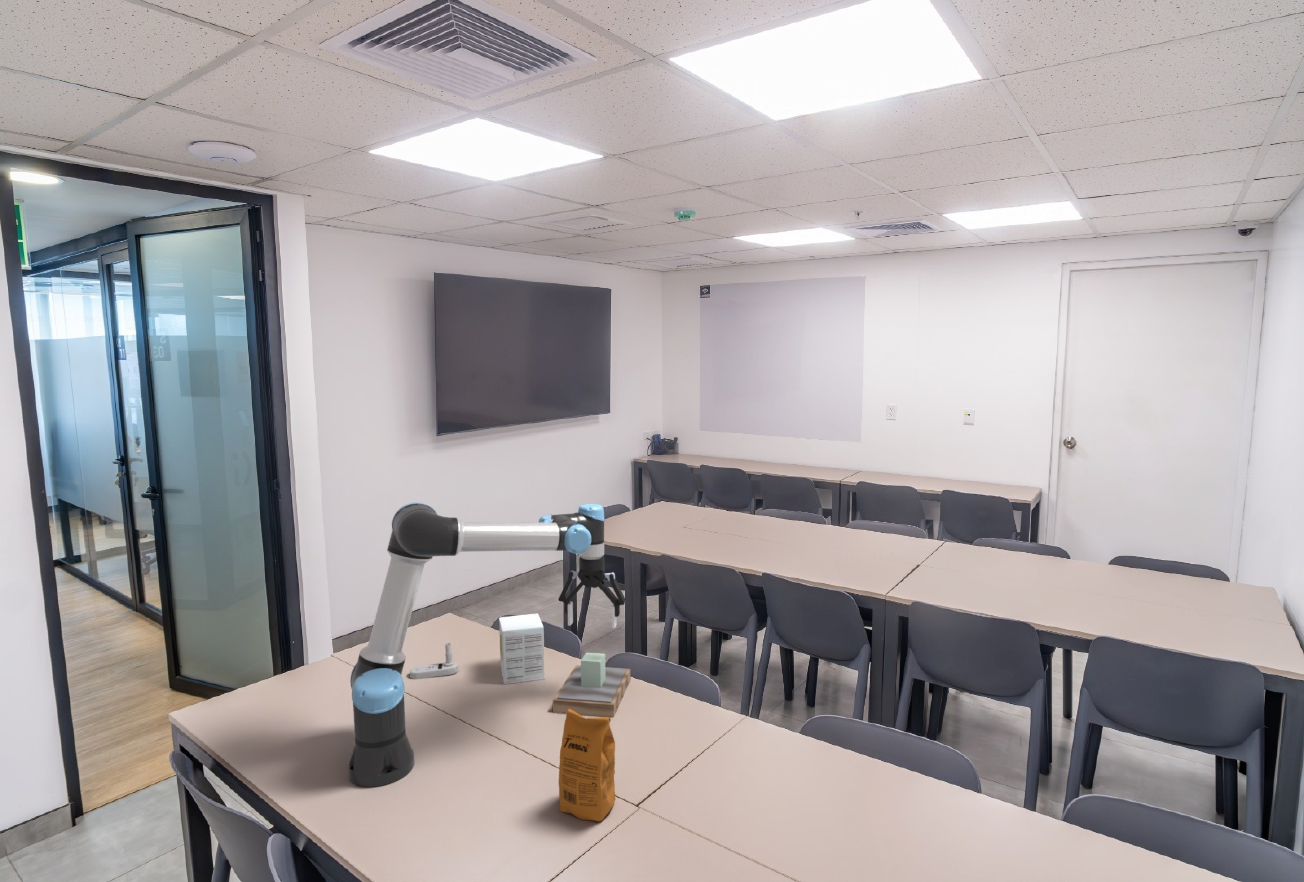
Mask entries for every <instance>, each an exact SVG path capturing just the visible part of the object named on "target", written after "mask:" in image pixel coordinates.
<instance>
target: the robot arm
mask: <svg viewBox="0 0 1304 882" xmlns="http://www.w3.org/2000/svg"><path fill="white" fill-rule="evenodd" d="M391 530H392V531H391V533H390V537H389V542H388V545H387V548H386V551H387V553H388V554H389V556H390V560H389V565H388V570H387V573H386V576H385V579H384V584H383V588H382V591H381V595H380V598H379V602H378V606H377V610H376V613H375V616H374V617H375V618H374V622H373V625H372V629H371V634H370V635H369V640H368V644H367V645H366V646H364V647H363V648H361V649H360V651H359V654H358V658H357V661H356V663H355V664H354V666H353V669H352V671H351V673H350V679H349V680H350V681H349V682H350V688H351V700H352V707H353V708H352V711H353V729H354V747H353V749H352V754H351V755H350V759H349V760H350V761H349V763H348V769H347V770H348V779H349V781H350V782H351V783H352V784H355V785H356V786H360V787H365V788H366V787H368V788H369V787H373V788H374V787H381V786H385V785H389V784H391V783H394V782H396V781H399V780H400V779H402V778H404V777H405V776H407V775H408V774H409V773H410V772H411V771H412V770H413V768H414V767H415V752H414V750H413V749H412V746H411V743H410V741H409V738H408V736H407V731H406V729H407V728H406V713H405V712H406V710H405V690H406V689H405V688H406V687H405V682H404V678H403V676H402V674H403V669H404V667H405V664H406V663H405V662H406V655H405V653H404V652H403V647H404V644H405V640H406V635H407V631H408V627H409V625H410V624H409V623H410V620H411V616H412V613H413V608H414V605H415V601H416V598H417V593H418V590H419V587H420V582H421V579H422V576H423V571H424V567H425V564H427V563H428V562H430V561H431V560H432V559H433V558H434V557H449V556H450V557H456V556H458V554H459V553H462V552H463V553H464V552H536V551H537V552H538V551H540V552H541V551H543V552H545V551H557V552H558V551H559V552H561V551H563V552H566V551H567V552H569V553H572V554H575V555H578V556H579V558H578V571H575V570H574V569H572V570H570V571H569V573H568V578H567V581H566V583H565V584H564V586H563V589H562V591H561V593H560V594H559V596H558V598H557V599H558V601H559V602H561V603H564V613H565V614H566V615H567V626H568V627H569V626H572V624H573V622H574V612H573V611H574V609H573V608H574V603H573V601H571V600H572V599H574V597H575V595H576V594H577V593H578V592H579V591H580V590H581V589H582V588H583V587H585V588H594V589H597V588H599V589H600V590H601V591H602V592H603V594H604V595H605V596H606V597H607V598H608V599H609V600H610V602H611V604H613V605H612V606H611V628H612V629H615V628H616V627H617V620H618V619H617V617H619V616H620V614H621V613H620V612H621V608H620V607H621V606H624V605H625V603H627V600H626V597H625V595H624V594H623V592H622V590H621V588H620V587H621V586H620V585H619V583H618V581H617V578H616V573H615V571H612V572H609V573H606V571H605V510H604V507H603V506H602V505H601V504H597V503H586V504H580V505H579V507H578V510H577V512H574V513H573V512H572V513H562V514H549V515H542V516H540V517H539V518H538V522H524V521H523V522H522V521H520V522H519V521H518V522H517V521H516V522H514V521H509V522H508V521H462V520H460V519H459V517H450V516H449V517H448V516H442V515H438V513H437V511H436V510H435V509H434V508H433V507H432V506H430V505H429V504H425V503H423V502H409V503H407V504H404V505H403V506H401V507H400V508H399V509H398V510H396V512H395V513H394V515H393V517H392V521H391ZM577 577H578V579H579V581H580V582H579V584H577V585H576V587H575V588H574V589H573V590H572V591H571V592H570V594H569V595H568V596H566V595H567V594H568V592H569V589H570V587H571V585H572V583H573V581H574V580H575V579H576V578H577ZM606 578H607V579H606ZM605 580H608V581H609V583H610V585H611V588H612V589H613V591H612V589H610V587H609V586H608V584H607V583H606V582H605ZM613 592H614V593H613Z"/></svg>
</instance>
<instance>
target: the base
mask: <svg viewBox="0 0 1304 882" xmlns="http://www.w3.org/2000/svg"><path fill="white" fill-rule="evenodd" d="M631 671H632V670H631V668H622V667H621V668H620V667H608V666H607V667H606V666H605V678H606V679H605V681H604V683H603V685H602V686H601V688H597V687H583V686H581V664H580V665H579V664H576V665H575V666H574V668H573V669H572V671H571V672H570V673H569V675H568V677H567V678H566V680H565V681H564V683H563V684H562V685H561V687H560V689H559V690H558V692H557V693H556V695H555V696H554V698H553V699H552V712H553V713H558V714H567V710H568V709H571V710H572V711H575V712H576V713H577V714H579V715H581V716H582V715H583V716H592V717H593V716H594V717H595V716H596V717H610V718H615V716H616V713H617V711H618V709H619V707H620V705H621V702H622V700H623V698H624V695H625V693H626V691H627V689H628V686H630V685H629V684H630V682H631V679H632V678H631V677H632V675H631Z"/></svg>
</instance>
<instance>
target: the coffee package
mask: <svg viewBox="0 0 1304 882" xmlns="http://www.w3.org/2000/svg"><path fill="white" fill-rule="evenodd" d="M565 716H566V717H565V720H564V725H563V732H562V733H563V734H562V739H561V746H560V752H559V766H558V767H559V768H558V797H559V799H558V800H559V812H561V813H566V814H572V815H573V816H575V817H576V818H578V819H579V820H582V821H594V822H601V821H604V820H605V817H606V816H607V815H608V814H609V812H610V811H611V810H612V809H613V806H614V805H615V801H616V785H615V773H616V770H615V768H616V767H615V765H616V754H615V753H616V740H615V738H614V735H613V732H612V729H611V725H610V724H611V720H612V719H611V717H605V716H599V717H587V718H586V717H584V716H582V715H581V714H577V713H576V712H575V711H572V710H571V709H568V710H567V713H565Z"/></svg>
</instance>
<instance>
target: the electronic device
mask: <svg viewBox="0 0 1304 882" xmlns="http://www.w3.org/2000/svg"><path fill="white" fill-rule="evenodd" d="M444 647H445V662H439V663H431V664H424V665H423V664H422V665H416V666H413V667H411V668H410V670H409V677H410V679H413V680H420V679H429V678H436V677H444V676H451V675H454V674H457V673H458V672H459V663H458V662H456V661H454V660H453V652H452V644H451V643H450V642H447V643H445V644H444Z"/></svg>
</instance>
